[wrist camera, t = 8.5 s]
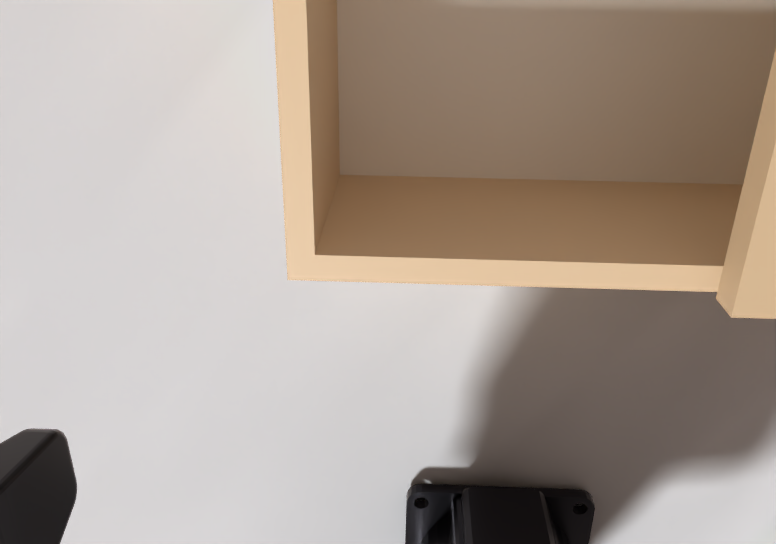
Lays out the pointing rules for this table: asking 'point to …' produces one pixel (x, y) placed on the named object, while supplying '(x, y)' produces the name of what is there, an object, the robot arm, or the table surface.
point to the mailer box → (517, 139)
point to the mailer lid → (755, 225)
